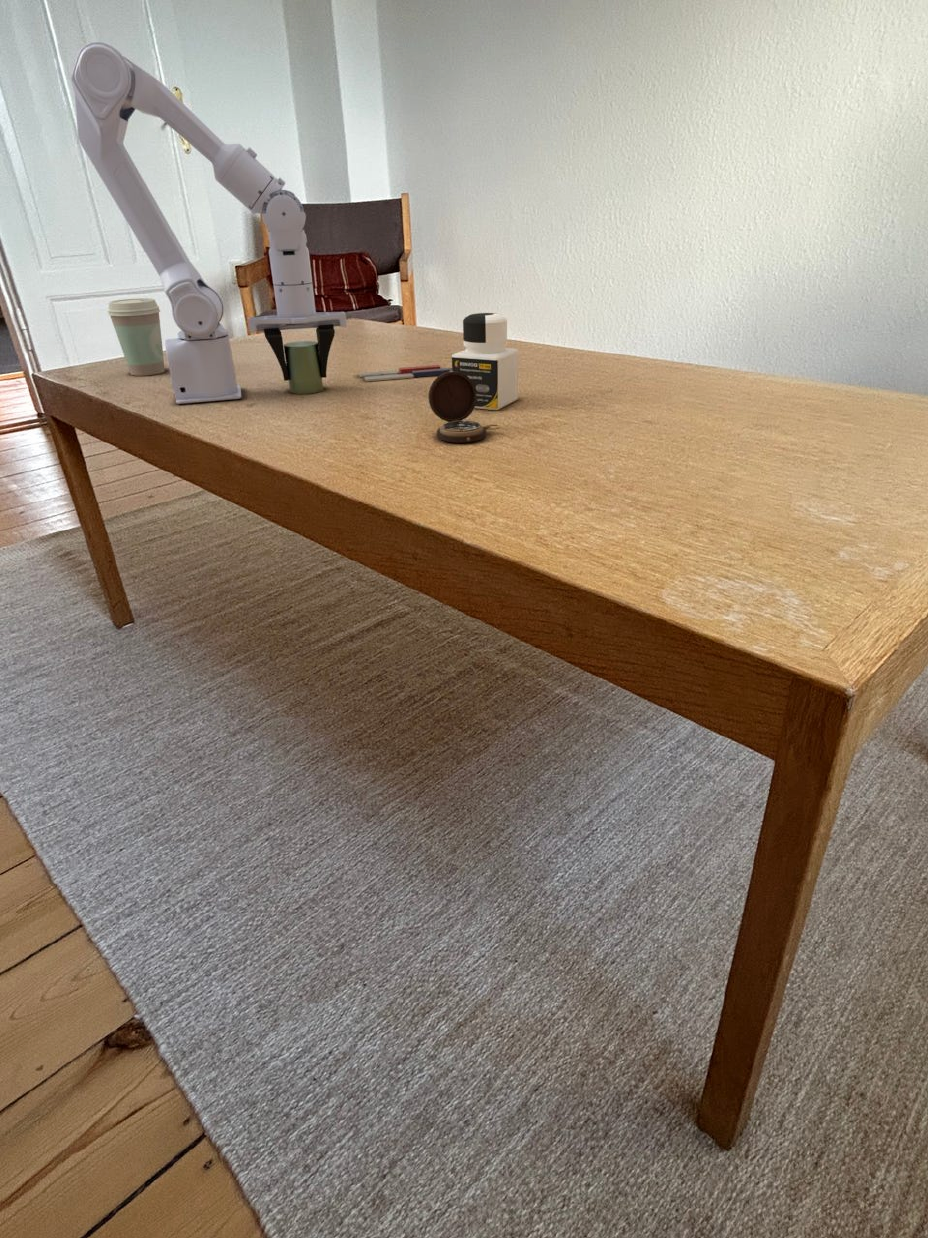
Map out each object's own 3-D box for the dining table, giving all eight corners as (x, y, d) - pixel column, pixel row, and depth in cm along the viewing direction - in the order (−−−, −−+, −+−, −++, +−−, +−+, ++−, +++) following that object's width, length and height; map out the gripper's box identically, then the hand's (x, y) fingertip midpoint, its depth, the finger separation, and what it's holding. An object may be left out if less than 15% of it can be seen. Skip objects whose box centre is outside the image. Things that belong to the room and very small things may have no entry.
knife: (366, 381, 123) (365, 376, 123) (364, 379, 125) (364, 374, 124) (454, 374, 127) (454, 369, 126) (451, 372, 128) (451, 367, 128)
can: (291, 395, 116) (284, 347, 113) (289, 388, 120) (282, 342, 117) (324, 392, 117) (319, 345, 114) (321, 385, 122) (316, 340, 118)
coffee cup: (162, 376, 131) (146, 302, 125) (114, 377, 131) (96, 304, 126) (179, 367, 139) (165, 297, 133) (134, 368, 139) (117, 298, 133)
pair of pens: (360, 377, 126) (359, 372, 126) (358, 375, 128) (358, 370, 127) (440, 371, 129) (440, 366, 129) (438, 369, 131) (438, 364, 130)
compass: (444, 446, 90) (441, 384, 86) (429, 429, 96) (426, 371, 93) (507, 439, 91) (507, 378, 88) (488, 424, 98) (488, 366, 95)
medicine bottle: (452, 406, 107) (449, 316, 101) (475, 395, 112) (473, 309, 106) (497, 411, 104) (497, 318, 98) (518, 399, 109) (519, 311, 103)
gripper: (242, 288, 106) (258, 386, 113) (345, 283, 109) (354, 378, 116) (242, 284, 112) (257, 377, 119) (339, 279, 115) (348, 370, 122)
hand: (304, 377), depth 118 cm, fingers closed on can, 5 cm apart
